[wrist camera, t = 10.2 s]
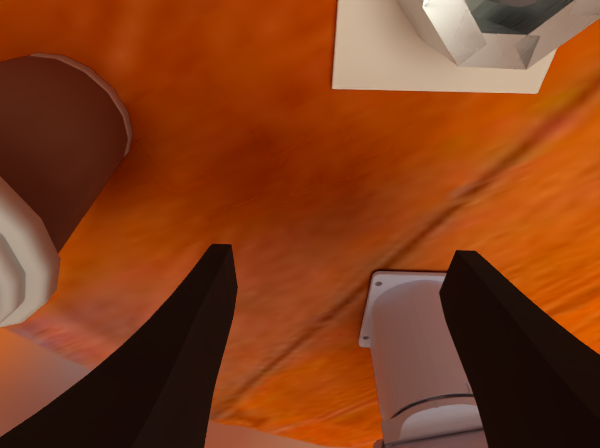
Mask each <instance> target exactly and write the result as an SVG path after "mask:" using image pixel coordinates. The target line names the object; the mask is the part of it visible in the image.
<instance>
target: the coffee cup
mask: <svg viewBox="0 0 600 448" xmlns="http://www.w3.org/2000/svg"><path fill="white" fill-rule="evenodd" d="M132 135H133V133H132V128H131V124H130V119H129V115H128V111H127V110H126V108H125V106H124V105H123V103H122V102H121V100H120V98H119V97H118V95H117V94H116V92H115V90H114V89H113V88H112V87H111V86H110V85H109V84H108V83H107V82H105V81H104V80H103V79H102V78H101V77H100V76H99V75H98V74H96V73H95V72H94V71H93V70H92V69H91V68H89V67H87V66H85V65H83V64H80V63H78V62H76V61H74V60H72V59H70V58H68V57H66V56H64V55H55V54H45V53H35V54H32V55H29V56H25V57H20V58H15V59H10V60H5V61H1V62H0V327H3V326H8V325H13V324H18V323H22V322H23V321H25V320H26V319H27V318H29V317H30V316H31V315H32V314H33V313H35V312H36V311H37V310H38V309H39V308H40V307H42V306H43V305H44V304H45V303H46V302H47V301H48V300H49V299H50V297H51V296H52V295H53V293H54V292H55V291H56V289H57V283H58V275H59V267H60V257H59V255H58V253H59V252H60V250H61V249H62V247H63V246H64V244H65V243H66V242H67V240H68V239H69V237H70V236H71V234H72V233H73V231H74V230H75V228H76V227H77V225H78V224H79V222H80V221H81V219H82V218H83V217H84V215H85V214H86V212H87V211H88V209H89V208H90V206H91V205H92V203H93V202H94V200H95V199H96V197H97V196H98V195H99V193H100V192H101V190H102V189H103V187H104V186H105V184H106V183H107V181H108V180H109V178H110V177H111V175H112V174H113V173H114V171H115V170H116V168H117V167H118V165H119V164H120V162H121V161H122V159H123V158H124V157H125V155H126V154H127V153H128V152H129V148H130V144H131V140H132Z"/></svg>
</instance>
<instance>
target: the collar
mask: <svg viewBox="0 0 600 448" xmlns="http://www.w3.org/2000/svg"><path fill="white" fill-rule="evenodd" d="M396 1H397V3H398V4H399V6H400V7H401V9H402V11H403V12H404V14H405V15H406V17H407V19H408V20H409V22H410V23H411V25H412V26H413V28H414V30H415V31H416V33H417V34H418V36H419V37H420V38H421V39H422V40H423V41H425V42H426V43H427V44H429V45H430V46H431V47H433V48H434V49H435V50H437V51H438V52H439V53H441V54H442V55H443V56H445V57H446V58H447V59H449V60H450V61H451V62H453V63H454V64H455V65H457V66H458V67H478V68H499V69H521V70H527V69H528V68H529V67H531V66H532V65H534V64H535V63H537V62H538V61H539V60H541V59H542V58H544V57H545V56H546V55H548V54H549V53H551V52H552V51H554V50H555V49H556V48H558V47H559V46H561V45H562V44H564V43H565V42H566V41H568V40H569V39H571V38H572V37H573V36H575V35H576V34H578V33H579V32H581V31H582V30H583V29H585V28H586V27H588V26H589V25H590V24H592V23H593V22H595V21H596V20H598V19H599V18H600V0H539V1H537V2H535V3H533V4H531V5H528V6H523V7H513V6H509V5H505V4H501V3H497V2H493V1H489V0H485V1H483V2H482V3H481V4H480V5H479V6H477V7H476V8H475V9H474V10H473V11H471V12H470V10H469V8H468V7H467V5H466V3H465V1H464V0H396Z"/></svg>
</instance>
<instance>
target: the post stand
mask: <svg viewBox="0 0 600 448" xmlns="http://www.w3.org/2000/svg"><path fill="white" fill-rule="evenodd" d="M464 1H465V3H466V5H467V7H468V8H469V10H470V12H471V11H473V10H474V9H475V8H476V7H477V6H479V5H480V4H481V3H482V2H483V1H485V0H464ZM489 1H493V2H497V3H501V4H505V5H509V6H513V7H523V6H528V5H531V4H533V3H535V2H537V1H539V0H489ZM556 50H557V48H556V49H555V50H554V51H552V52H551V53H549V54H548V55H546V56H545V57H544V58H542V59H541V60H539V61H538V62H537V63H535V64H534V65H532V66H531V67H529V68H528V69H527V70H521V69H499V68H478V67H458V66H457V65H455V64H454V63H453V62H451V61H450V60H449V59H447V58H446V57H445V56H443V55H442V54H441V53H439V52H438V51H437V50H435V49H434V48H433V47H431V46H430V45H429V44H427V43H426V42H425V41H423V40H422V39H421V38H420V37H419V36H418V34H417V33H416V31H415V30H414V28H413V26H412V25H411V23H410V22H409V20H408V19H407V17H406V15H405V14H404V12H403V11H402V9H401V7H400V6H399V4H398V3H397V1H396V0H338V2H337V16H336V30H335V44H334V58H333V72H332V89H359V90H403V91H447V92H490V93H534V94H537V93H538V91H539V88H540V86H541V84H542V82H543V79H544V77H545V75H546V73H547V70H548V68H549V66H550V63H551V61H552V59H553V57H554V54H555V52H556Z"/></svg>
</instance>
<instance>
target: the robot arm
mask: <svg viewBox="0 0 600 448" xmlns="http://www.w3.org/2000/svg"><path fill="white" fill-rule="evenodd" d="M237 288H238V286H237V280H236V273H235V266H234V259H233V252H232V246H231V244H212V245H211V246H210V247H209V248H208V249H207V251H206V252H205V253H204V255H203V256H202V257H201V259H200V260H199V261H198V263H197V264H196V265H195V267H194V268H193V269H192V270H191V272H190V273H189V274H188V276H187V277H186V278H185V279H184V280H183V282H182V283H181V284H180V285H179V286H178V288H177V289H176V290H175V291H174V292H173V294H172V295H171V296H170V297H169V298H168V299H167V300H166V301H165V302H164V304H163V305H162V306H161V307H160V308H159V309H158V310H157V311H156V312H155V313H154V314H153V315H152V317H151V318H150V319H149V320H148V321H147V322H146V323H145V324H144V325H143V326H142V327H141V328H140V329H139V330H138V331H137V332H136V333H134V334H133V335H132V336H131V337H130V338H129V339H128V340H127V341H126V342H125V343H124V344H123V345H122V346H121V347H119V348H118V349H117V350H116V351H115V352H114V353H112V354H111V355H110V356H109V357H108V358H107V359H106V360H104V361H103V362H102V363H101V364H100V365H99V366H97V367H96V368H95V369H94V370H92V371H91V372H90V373H89V374H88V375H87V376H85V377H84V378H83V379H81V380H80V381H79V382H77V383H76V384H75V385H73V386H72V387H71V388H69V389H68V390H67V391H65V392H64V393H63V394H61V395H60V396H59V397H57V398H56V399H55V400H53V401H52V402H51V403H50V404H48V405H47V406H45V407H44V408H43V409H41V410H40V411H38V412H37V413H36V414H34V415H33V416H31V417H30V418H28V419H27V420H25V421H24V422H22V423H21V424H19V425H18V426H16V427H15V428H13V429H12V430H10V431H9V432H7V433H6V434H4V435H3V436H1V437H0V448H204V444H205V438H206V432H207V426H208V420H209V414H210V409H211V403H212V397H213V392H214V388H215V383H216V379H217V376H218V372H219V368H220V365H221V361H222V357H223V353H224V350H225V346H226V342H227V339H228V335H229V331H230V327H231V324H232V320H233V316H234V309H235V303H236V295H237ZM358 343H359V346H361V347H370V350H371V357H372V363H373V370H374V376H375V383H376V389H377V396H378V402H379V408H380V412H381V416H382V418H383V421H382V422H381V426H382V433H383V439H381V440H378V441H376V442H375V443H374V445H373V448H600V355H599V354H598V353H596V352H595V351H594V350H592V349H591V348H589V347H588V346H587V345H585V344H584V343H582V342H581V341H580V340H579V339H577V338H576V337H575V336H573V335H572V334H571V333H569V332H568V331H567V330H566V329H564V328H563V327H562V326H561V325H559V324H558V323H557V322H556V321H555V320H553V319H552V318H551V317H550V316H548V315H547V314H546V313H545V312H544V311H542V310H541V309H540V308H539V307H538V306H537V305H535V304H534V303H533V302H532V301H531V300H530V299H528V298H527V297H526V296H525V295H524V294H523V293H522V292H521V291H519V290H518V289H517V288H516V287H515V286H514V285H513V284H512V283H511V282H509V281H508V280H507V279H506V278H505V277H504V276H503V275H502V274H501V273H500V272H499V271H497V270H496V269H495V268H494V267H493V266H492V265H491V264H490V263H489V262H488V261H486V260H485V259H484V258H483V257H482V256H481V255H480V254H478V253H477V252H476V251H463V250H456V252H455V254H454V257H453V259H452V262H451V264H450V267H449V269H448V271H447V273H431V272H393V271H377V272H375V273H374V274H373V275H372V279H371V284H370V288H369V293H368V298H367V302H366V307H365V312H364V316H363V321H362V326H361V330H360V335H359V340H358Z"/></svg>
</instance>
